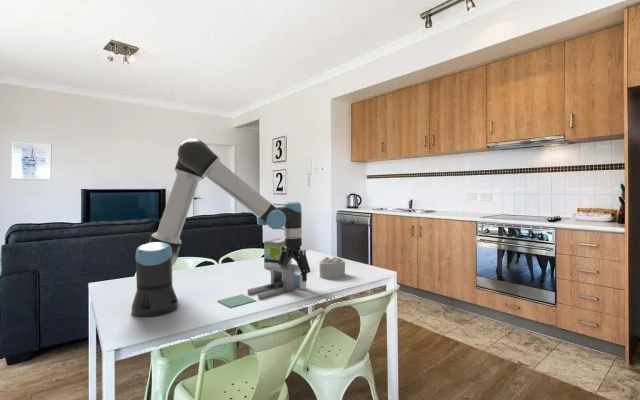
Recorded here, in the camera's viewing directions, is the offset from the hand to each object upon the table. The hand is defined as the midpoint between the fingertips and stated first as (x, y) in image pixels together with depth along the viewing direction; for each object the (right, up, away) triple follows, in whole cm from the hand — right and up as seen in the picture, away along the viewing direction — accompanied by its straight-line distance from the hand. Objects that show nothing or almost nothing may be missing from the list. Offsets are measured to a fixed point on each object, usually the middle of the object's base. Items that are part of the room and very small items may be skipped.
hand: (293, 285), depth 152 cm
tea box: (-11, +1, +38) cm, 39 cm away
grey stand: (-9, -1, -9) cm, 13 cm away
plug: (-3, 0, -3) cm, 4 cm away
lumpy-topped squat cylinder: (+17, 0, +17) cm, 24 cm away
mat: (-21, -1, -20) cm, 29 cm away
